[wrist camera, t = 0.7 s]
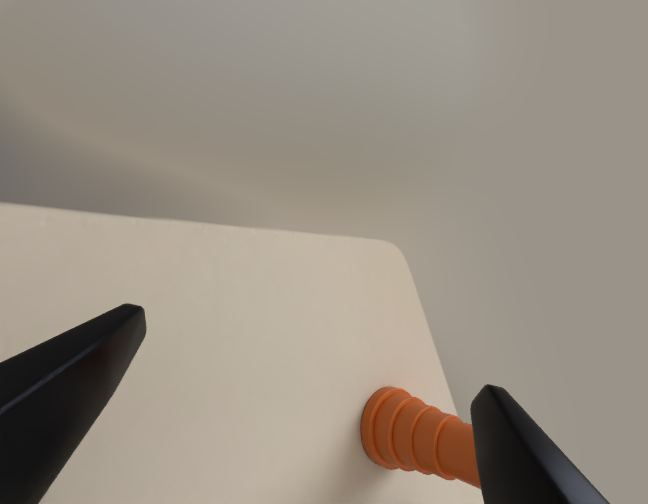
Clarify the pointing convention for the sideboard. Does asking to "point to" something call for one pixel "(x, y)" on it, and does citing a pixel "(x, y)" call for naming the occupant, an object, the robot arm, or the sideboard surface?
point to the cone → (418, 437)
